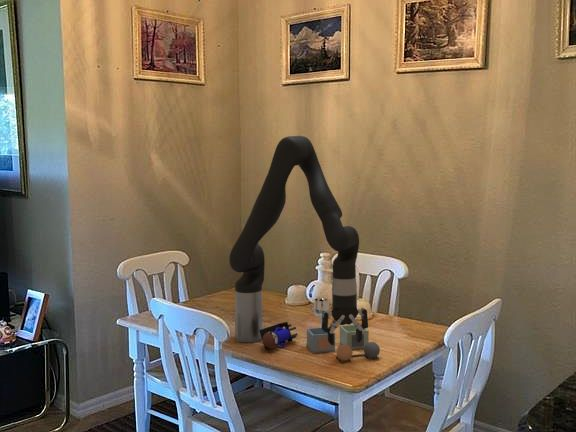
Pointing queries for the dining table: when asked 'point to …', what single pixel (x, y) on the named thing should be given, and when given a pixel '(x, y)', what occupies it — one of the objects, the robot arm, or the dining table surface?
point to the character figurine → (277, 335)
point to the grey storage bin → (319, 341)
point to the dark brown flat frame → (357, 356)
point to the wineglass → (320, 307)
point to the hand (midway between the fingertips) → (345, 343)
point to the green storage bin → (353, 337)
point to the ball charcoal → (371, 350)
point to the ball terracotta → (344, 352)
